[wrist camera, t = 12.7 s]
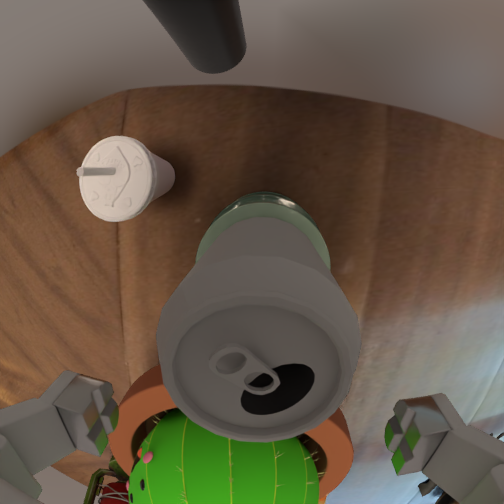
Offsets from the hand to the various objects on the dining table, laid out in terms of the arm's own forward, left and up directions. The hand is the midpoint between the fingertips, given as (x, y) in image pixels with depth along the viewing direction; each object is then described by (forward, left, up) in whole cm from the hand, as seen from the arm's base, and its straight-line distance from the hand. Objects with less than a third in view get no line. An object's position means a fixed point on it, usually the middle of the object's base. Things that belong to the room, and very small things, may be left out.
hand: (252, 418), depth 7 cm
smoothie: (-6, -11, -24) cm, 27 cm away
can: (0, 0, -14) cm, 14 cm away
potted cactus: (+18, -2, -24) cm, 30 cm away
